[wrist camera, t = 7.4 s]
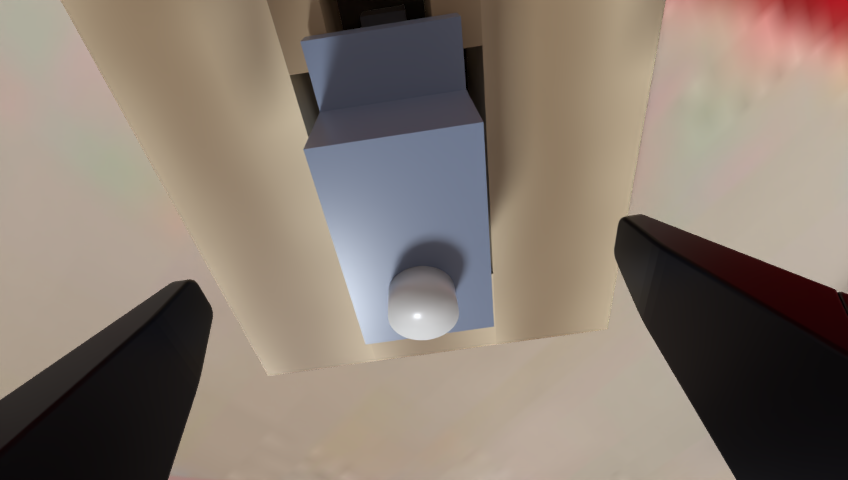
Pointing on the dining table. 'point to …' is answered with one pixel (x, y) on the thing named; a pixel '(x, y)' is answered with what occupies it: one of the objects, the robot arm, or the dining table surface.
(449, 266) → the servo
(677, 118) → the dining table surface
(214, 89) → the frame
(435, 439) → the dining table surface
